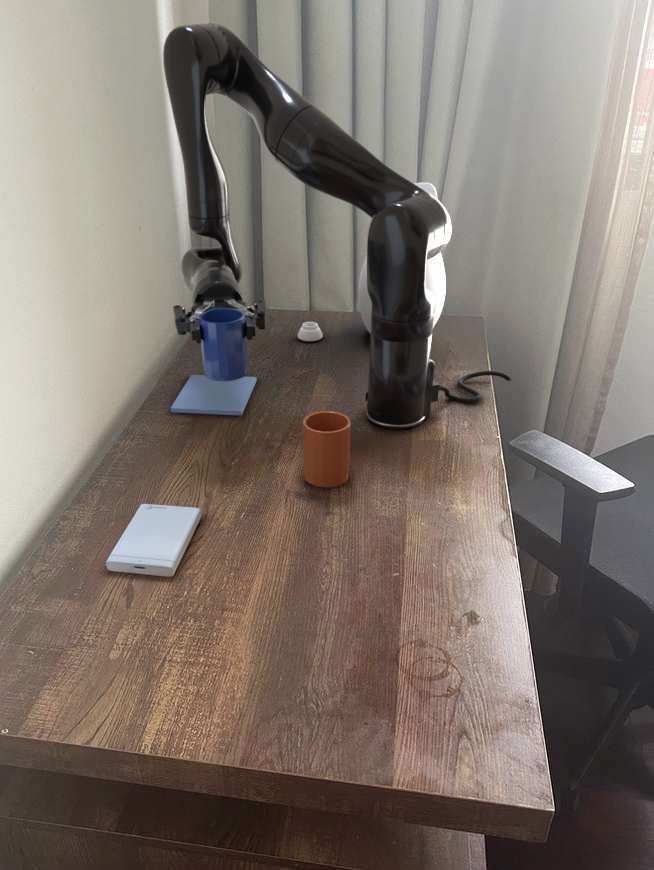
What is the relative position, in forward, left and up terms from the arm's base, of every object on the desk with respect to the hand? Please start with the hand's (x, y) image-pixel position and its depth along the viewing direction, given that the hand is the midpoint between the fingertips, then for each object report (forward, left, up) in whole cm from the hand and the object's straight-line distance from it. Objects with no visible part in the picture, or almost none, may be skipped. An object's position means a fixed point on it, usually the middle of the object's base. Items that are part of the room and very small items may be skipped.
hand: (224, 335), depth 102 cm
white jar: (-29, -37, -18) cm, 50 cm away
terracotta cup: (-9, +13, -18) cm, 24 cm away
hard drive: (+17, +19, -18) cm, 31 cm away
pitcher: (-44, -27, -18) cm, 55 cm away
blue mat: (-3, -19, -18) cm, 26 cm away
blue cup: (-1, -2, -6) cm, 7 cm away
